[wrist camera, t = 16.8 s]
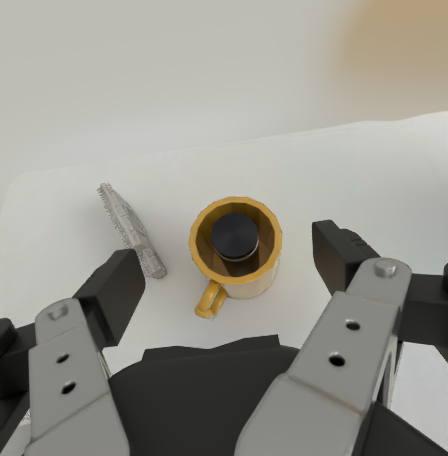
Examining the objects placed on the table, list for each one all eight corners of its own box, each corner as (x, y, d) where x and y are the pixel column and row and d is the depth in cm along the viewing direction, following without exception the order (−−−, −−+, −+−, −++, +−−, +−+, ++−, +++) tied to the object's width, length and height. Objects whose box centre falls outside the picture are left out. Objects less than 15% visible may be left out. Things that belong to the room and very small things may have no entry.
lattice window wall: (169, 274, 32) (150, 261, 27) (156, 282, 32) (134, 271, 26) (128, 200, 37) (105, 176, 31) (117, 207, 36) (91, 185, 31)
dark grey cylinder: (253, 242, 31) (249, 205, 23) (264, 274, 30) (265, 248, 21) (221, 252, 31) (204, 220, 23) (230, 285, 30) (217, 263, 21)
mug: (228, 222, 33) (217, 184, 25) (288, 249, 31) (297, 217, 23) (182, 303, 31) (152, 290, 22) (244, 339, 28) (236, 340, 20)
